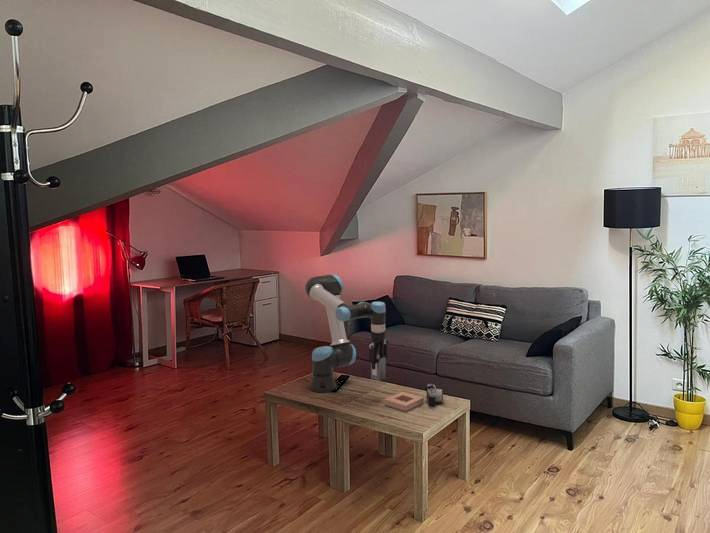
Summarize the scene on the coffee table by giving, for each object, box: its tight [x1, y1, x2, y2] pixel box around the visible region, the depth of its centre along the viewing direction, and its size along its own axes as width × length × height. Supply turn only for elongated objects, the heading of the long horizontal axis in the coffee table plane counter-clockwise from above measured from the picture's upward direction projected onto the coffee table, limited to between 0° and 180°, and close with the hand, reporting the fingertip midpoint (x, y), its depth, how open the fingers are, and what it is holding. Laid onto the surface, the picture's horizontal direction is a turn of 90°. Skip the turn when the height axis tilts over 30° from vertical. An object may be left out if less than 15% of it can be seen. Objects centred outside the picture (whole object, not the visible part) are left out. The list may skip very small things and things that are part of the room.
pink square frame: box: [384, 391, 424, 413], centre depth 305 cm, size 14×15×4 cm
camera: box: [425, 383, 444, 409], centre depth 306 cm, size 16×9×10 cm, turn 176°
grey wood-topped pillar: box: [370, 354, 387, 382], centre depth 309 cm, size 6×5×12 cm
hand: (378, 373), depth 310 cm, fingers closed on grey wood-topped pillar, 5 cm apart
